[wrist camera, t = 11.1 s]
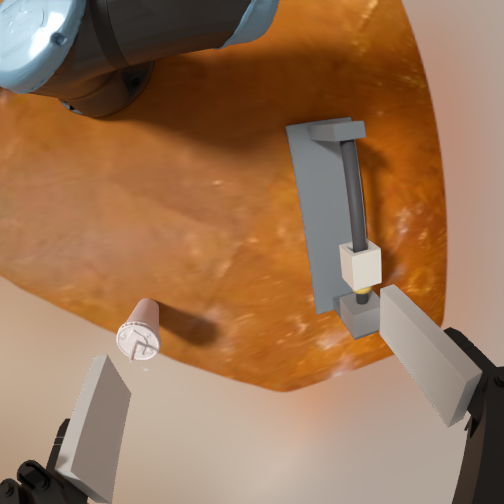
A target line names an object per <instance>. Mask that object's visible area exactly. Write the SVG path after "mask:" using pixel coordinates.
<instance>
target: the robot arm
mask: <svg viewBox="0 0 504 504" xmlns="http://www.w3.org/2000/svg"><path fill="white" fill-rule="evenodd" d="M278 4H279V0H3V1H2V3H1V4H0V87H2V88H5V89H8V90H11V91H13V92H15V93H20V94H23V93H24V94H26V93H30V94H37V95H43V96H49V97H55V98H58V99H59V101H60V102H61V103H62V104H63V105H64V106H65V107H66V108H67V109H68V110H70V111H72V112H74V113H76V114H79V115H83V116H90V117H102V116H107V115H111V114H114V113H116V112H118V111H120V110H122V109H124V108H125V107H127V106H128V105H130V104H131V103H132V102H133V101H134V100H135V99H136V98H137V97H138V96H139V95H140V94H141V93H142V91H143V90H144V89H145V87H146V85H147V84H148V82H149V80H150V77H151V75H152V71H153V67H154V60H156V59H161V58H165V57H169V56H174V55H179V54H184V53H189V52H194V51H200V50H205V49H212V48H213V49H221V48H225V47H227V46H228V45H234V44H240V43H247V42H252V41H254V40H256V39H258V38H259V37H261V36H262V35H264V34H265V32H266V31H267V30H268V29H269V27H270V25H271V24H272V22H273V19H274V17H275V14H276V11H277V8H278ZM380 335H381V337H382V338H383V339H384V341H385V342H386V343H387V345H388V346H389V347H390V348H391V350H392V351H393V352H394V354H395V355H396V356H397V358H398V359H399V360H400V362H401V363H402V364H403V366H404V367H405V368H406V370H407V371H408V372H409V374H410V375H411V376H412V378H413V379H414V381H415V382H416V383H417V384H418V386H419V387H420V389H421V390H422V392H423V393H424V394H425V396H426V397H427V398H428V400H429V401H430V403H431V404H432V406H433V407H434V408H435V410H436V411H437V413H438V414H439V415H440V417H441V418H442V420H443V421H444V423H445V424H446V426H447V427H450V426H452V425H453V424H455V423H457V422H458V421H460V420H462V419H463V417H464V415H465V413H466V411H467V410H468V412H469V413H470V414H471V417H470V419H469V421H468V423H467V425H466V427H465V431H466V430H467V429H468V434H467V440H466V446H465V451H464V457H463V462H462V466H461V470H460V475H459V479H458V483H457V487H456V490H455V494H454V498H453V501H452V504H504V367H496V366H495V365H494V364H493V363H492V362H491V361H490V360H489V359H488V358H487V357H486V356H485V355H484V354H483V353H482V352H481V351H480V350H479V349H478V348H477V347H476V346H474V344H473V343H472V342H470V341H468V338H467V337H465V336H464V335H463V334H462V333H461V332H460V331H458V330H456V329H453V328H451V327H450V328H447V329H445V330H441V328H440V327H439V326H438V325H436V324H435V323H434V322H433V321H432V320H431V319H430V318H429V317H428V316H427V315H426V314H425V313H424V312H423V311H422V310H421V309H420V308H419V307H418V306H417V305H416V304H415V303H414V302H413V301H411V300H410V299H409V298H408V297H407V296H406V295H405V294H404V293H403V292H402V291H401V290H400V289H399V288H397V287H396V286H395V285H394V284H393V285H390V286H387V287H384V288H381V289H380ZM130 397H131V392H130V391H129V389H128V388H127V386H126V385H125V383H124V382H123V380H122V378H121V377H120V375H119V373H118V372H117V370H116V368H115V367H114V365H113V363H112V362H111V360H110V358H109V356H108V355H102V356H95V357H94V359H93V362H92V364H91V367H90V369H89V371H88V374H87V376H86V379H85V381H84V384H83V387H82V389H81V392H80V394H79V397H78V400H77V402H76V405H75V408H74V411H73V413H72V416H71V419H65V421H64V422H63V423H62V425H61V426H60V427H59V430H58V433H57V438H56V439H55V442H54V446H53V448H52V451H51V454H50V457H49V460H48V463H47V466H46V469H44V468H43V467H42V466H41V465H40V464H39V463H38V462H36V461H34V460H28V461H26V462H24V463H23V464H22V465H21V466H20V467H19V469H18V472H17V480H18V481H19V482H21V483H22V484H21V485H19V484H18V483H17V482H16V481H15V480H13V479H10V478H9V479H5V480H3V481H2V482H1V483H0V504H88V503H87V499H88V497H90V498H91V499H92V500H94V501H95V502H99V503H108V504H111V503H112V497H113V489H114V483H115V476H116V470H117V464H118V458H119V452H120V446H121V441H122V436H123V430H124V426H125V421H126V416H127V411H128V406H129V402H130Z"/></svg>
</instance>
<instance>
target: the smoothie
mask: <svg viewBox="0 0 504 504" xmlns="http://www.w3.org/2000/svg"><path fill="white" fill-rule="evenodd" d="M116 338H117V339H116V340H117V345H118V347H119V348H120V350H121V351H122V352H123V353H124V354H125V355H127V356H128V357H130V358H129V362H133V359H136V360H148V359H151V358H153V357H154V356H156V355H157V353H158V352H159V349H160V345H161V340H160V337H159V306H158V304H157V303H156V302H155V301H154V300H152V299H149V298H145V299H142V300H140V301H139V303H138V304H137V306H136V307H135V309H134V310H133V312H132V313H131V315H130V317H129V318H128V320H127V321H126V323H125V324H123V325H122V326H121V327H120V328H119V330H118V334H117V337H116Z"/></svg>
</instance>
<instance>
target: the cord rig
mask: <svg viewBox="0 0 504 504" xmlns="http://www.w3.org/2000/svg"><path fill="white" fill-rule="evenodd" d="M285 128H286V133H287V138H288V143H289V148H290V153H291V158H292V164H293V169H294V174H295V180H296V185H297V191H298V197H299V202H300V208H301V214H302V220H303V226H304V233H305V239H306V245H307V252H308V259H309V266H310V273H311V280H312V287H313V295H314V302H315V310H316V313H317V314H321V313H324V312H328V311H331V310H334V309H335V311H336V312H337V314H338V315H339V317H340V318H341V320H342V321H343V323H344V324H345V326H346V327H347V329H348V330H349V332H350V334H351V335H352V337H353V338H354V340H356V339H359V338H362V337H365V336H367V335H370V334H373V333H376V332H378V330H379V329H380V298H379V297H378V295H377V294H376V293H375V292H374V291H373V290H372V286H369V287H366V288H363V289H359V290H356V291H353V289H352V288H351V287H350V286H349V285H348V284H347V282H346V281H345V280H344V279H343V278H342V269H341V259H340V249H339V245H341V244H345V243H349V242H352V244H353V252H354V253H357V252H361V251H364V250H366V227H365V215H364V205H363V195H362V187H361V178H360V171H359V163H358V156H357V149H356V143H355V139H358V138H365V137H366V132H365V126H364V121H352V119H351V117H345V118H337V119H329V120H322V121H315V122H308V123H302V124H296V125H290V126H285Z"/></svg>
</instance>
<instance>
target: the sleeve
mask: <svg viewBox="0 0 504 504" xmlns="http://www.w3.org/2000/svg"><path fill="white" fill-rule="evenodd" d="M339 249H340V259H341V269H342V278H343V279H344V280H345V281H346V282H347V284H348V285H349V286H350V287H351V288H352V289H353V291H356V290H359V289H363V288H366V287H369V286H372V285H375V284H379V283H382V276H381V248H379V247H378V246H376V245H375V244H374V243H372V242H371V241H370V240H368V239H367V238H366V250H364V251H361V252H357V253H354V252H353V244H352V242H349V243H345V244H341V245H339Z"/></svg>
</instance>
